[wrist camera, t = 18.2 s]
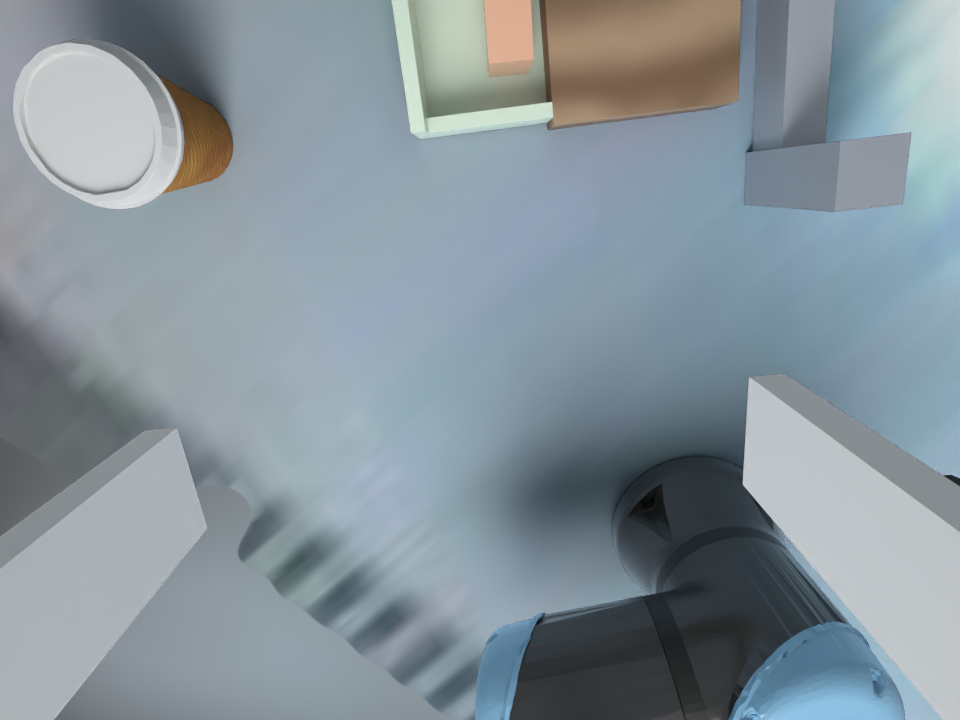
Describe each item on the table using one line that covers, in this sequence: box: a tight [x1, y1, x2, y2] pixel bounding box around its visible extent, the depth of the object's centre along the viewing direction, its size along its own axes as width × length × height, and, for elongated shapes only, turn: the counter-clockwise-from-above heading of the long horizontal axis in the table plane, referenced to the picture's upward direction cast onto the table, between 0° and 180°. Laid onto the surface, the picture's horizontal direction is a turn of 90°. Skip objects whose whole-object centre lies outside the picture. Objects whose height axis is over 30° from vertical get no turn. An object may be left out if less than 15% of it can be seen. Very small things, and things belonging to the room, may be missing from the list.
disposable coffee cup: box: [13, 39, 233, 209], centre depth 37 cm, size 10×10×12 cm
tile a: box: [483, 0, 534, 78], centre depth 38 cm, size 5×5×3 cm
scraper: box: [744, 0, 911, 212], centre depth 35 cm, size 24×4×12 cm, turn 7°
